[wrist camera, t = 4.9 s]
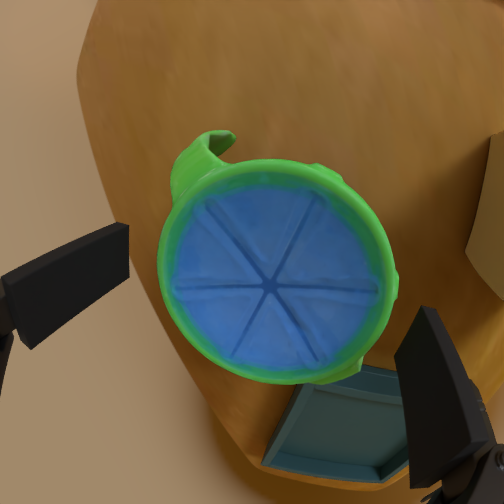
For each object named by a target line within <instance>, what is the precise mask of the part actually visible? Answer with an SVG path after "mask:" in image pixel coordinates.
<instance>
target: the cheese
mask: <svg viewBox="0 0 504 504" xmlns="http://www.w3.org/2000/svg"><path fill="white" fill-rule="evenodd" d="M465 254H466V255H467V257H468V259H469V260H470V262H471V264H472V265H473V267H474V269H475V270H476V271H477V273H478V274H479V275H480V276H481V278H482V279H483V280H484V281H485V282H486V283H487V284H488V286H489V287H490V288H491V289H492V290H493V291H494V292H495V293H496V294H497V295H498V296H499V297H500V298H501V299H502V300H503V301H504V131H501V132H499V133H497V134H493V135H492V136H491V141H490V149H489V155H488V161H487V167H486V172H485V177H484V182H483V187H482V192H481V196H480V201H479V205H478V209H477V213H476V218H475V221H474V225H473V229H472V232H471V235H470V238H469V241H468V244H467V246H466V249H465Z"/></svg>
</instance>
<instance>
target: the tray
mask: <svg viewBox="0 0 504 504" xmlns="http://www.w3.org/2000/svg"><path fill="white" fill-rule="evenodd" d="M408 464H409V458H408V445H407V435H406V426H405V418H404V411H403V404H402V397H401V391H400V385H399V379H398V374H397V371H392V370H386V369H381V368H376V367H372V366H367V365H361V370H360V371H359V372H357V373H355V374H354V375H351V376H349V377H347V378H345V379H342V380H339V381H336V382H333V383H328V384H324V385H319V384H312V383H309V382H308V383H302V384H297V386H296V388H295V390H294V392H293V395H292V397H291V399H290V401H289V403H288V405H287V407H286V409H285V411H284V413H283V415H282V417H281V419H280V421H279V423H278V425H277V427H276V429H275V431H274V433H273V435H272V437H271V439H270V441H269V443H268V445H267V447H266V450H265V453H264V456H263V459H262V462H261V465H263V466H267V467H271V468H275V469H279V470H283V471H288V472H292V473H297V474H302V475H308V476H314V477H320V478H327V479H334V480H342V481H352V482H365V483H384V482H386V481H387V480H388V479H390V478H391V477H393V476H394V475H395V474H397V473H398V472H399V471H401V470H402V469H403V468H405V467H406V466H407V465H408Z"/></svg>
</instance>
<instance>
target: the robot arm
mask: <svg viewBox="0 0 504 504" xmlns="http://www.w3.org/2000/svg"><path fill="white" fill-rule="evenodd" d="M129 277H130V276H129V225H126V224H123V223H119V222H116V223H113V224H111V225H108V226H106V227H104V228H101V229H99V230H96V231H94V232H92V233H89V234H87V235H85V236H83V237H80V238H78V239H76V240H74V241H72V242H69V243H67V244H65V245H63V246H61V247H58V248H56V249H54V250H52V251H50V252H48V253H46V254H44V255H42V256H40V257H38V258H36V259H34V260H32V261H30V262H28V263H26V264H24V265H22V266H20V267H18V268H16V269H14V270H12V271H10V272H8V273H7V274H5V275H3V276H1V279H0V395H1V389H2V384H3V379H4V375H5V370H6V366H7V362H8V358H9V354H10V351H11V346H12V344H13V340H14V335H13V333H12V331H13V330H14V329H17V332H18V335H19V337H20V340H21V341H22V342H23V343H24V344H25V345H26V346H27V347H28V348H29V349H30V350H32V349H33V348H34V347H36V346H37V345H38V344H39V343H41V342H42V341H43V340H45V339H46V338H47V337H48V336H49V335H51V334H52V333H54V332H55V331H56V330H57V329H59V328H60V327H61V326H63V325H64V324H65V323H67V322H68V321H69V320H70V319H72V318H73V317H75V316H76V315H77V314H79V313H80V312H82V311H83V310H84V309H86V308H87V307H88V306H90V305H91V304H93V303H94V302H95V301H96V300H98V299H99V298H101V297H102V296H103V295H105V294H106V293H108V292H109V291H110V290H112V289H114V288H115V287H116V286H118V285H119V284H121V283H122V282H124V281H125V280H126V279H128V278H129ZM394 359H395V364H396V369H397V374H398V379H399V385H400V391H401V397H402V404H403V411H404V418H405V426H406V435H407V445H408V458H409V475H410V489H414V488H428V487H430V486H431V485H433V484H435V483H436V482H438V481H439V480H442V486H441V487H440V488H438V489H437V490H435V491H434V492H432V493H431V494H429V495H427V496H425V497H424V498H423V499H422V500H421V502H424V501H426V500H428V499H429V498H431V499H430V500H429V502H428V503H427V504H504V444H497V442H496V439H495V436H494V432H493V429H492V426H491V423H490V420H489V417H488V414H487V412H485V410H486V408H485V405H484V403H482V401H483V400H482V397H481V395H480V392H479V390H478V388H477V387H476V386H475V384H474V383H473V382H472V380H471V379H469V378H468V376H467V373H466V371H465V369H464V366H463V364H462V362H461V359H460V357H459V355H458V353H457V351H456V349H455V346H454V344H453V342H452V340H451V338H450V336H449V334H448V332H447V330H446V328H445V326H444V324H443V322H442V320H441V318H440V316H439V315H438V313H437V311H436V309H433V308H430V307H426V306H422V305H421V307H420V309H419V311H418V313H417V315H416V317H415V319H414V321H413V323H412V325H411V326H410V328H409V330H408V332H407V334H406V336H405V338H404V339H403V341H402V343H401V345H400V347H399V348H398V350H397V352H396V353H395V355H394Z"/></svg>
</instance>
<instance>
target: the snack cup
mask: <svg viewBox="0 0 504 504" xmlns="http://www.w3.org/2000/svg"><path fill="white" fill-rule="evenodd" d="M235 140H236V136H235V135H234V134H232V133H231V131H225V130H216V131H209V132H206V133H203V134H201V135H200V136H199V137H198V138H197V139H195V140H194V142H193V143H192V144H191V145H190V146H189V147H188V148H186V149H185V150H183V151H182V152H181V154H180V155H179V156H178V158H177V159H176V160H175V162H174V164H173V167H172V172H171V174H170V176H171V179H170V181H171V182H170V188H171V195H172V204H173V205H172V210H171V212H170V214H169V216H168V218H167V219H166V222H165V224H164V226H163V229H162V232H161V235H160V239H159V244H158V251H157V274H158V280H159V286H160V290H161V293H162V297H163V300H164V303H165V305H166V307H167V310H168V312H169V314H170V316H171V317H172V319H173V321H174V322H175V324H176V325H177V327H178V329H179V330H180V331H181V333H182V334H183V335H184V337H185V338H186V339H187V340H188V341H189V342H190V343H191V344H192V345H193V346H194V347H195V348H196V349H197V350H198V351H199V352H200V353H201V354H203V355H204V356H205V357H207V358H208V359H209V360H211V361H212V362H213V363H215V364H217V365H218V366H220V367H222V368H224V369H226V370H228V371H230V372H232V373H234V374H237V375H239V376H242V377H244V378H247V379H251V380H255V381H258V382H262V383H269V384H280V385H293V384H302V383H308V382H309V383H312V384H319V385H324V384H328V383H333V382H336V381H339V380H342V379H345V378H347V377H349V376H351V375H354V374H355V373H357V372H359V371H360V370H361V365H362V362H363V357H364V355H365V354H366V353H367V352H368V351H369V349H370V348H371V347H372V346H373V345H374V344H375V342H376V341H377V340H378V339H379V337H380V336H381V334H382V332H383V330H384V329H385V326H386V324H387V322H388V320H389V317H390V314H391V311H392V308H393V303H394V300H395V299H396V298H397V295H398V285H399V275H398V273H397V271H396V270H395V263H394V259H393V254H392V251H391V247H390V244H389V241H388V238H387V235H386V233H385V231H384V229H383V227H382V225H381V223H380V222H379V220H378V218H377V216H376V214H375V213H374V212H373V210H372V209H371V208H370V207H369V205H368V204H367V203H366V202H365V201H364V200H363V199H362V198H361V197H360V196H359V195H358V194H357V193H356V192H355V191H354V190H353V189H352V188H350V187H349V186H348V185H347V184H346V183H344V181H343V179H342V176H341V175H339V174H338V173H336V172H334V171H332V170H331V169H329V168H327V167H325V166H323V165H321V164H319V163H313V164H308V165H307V164H304V163H301V162H295V161H291V160H283V159H257V160H249V161H244V162H239V163H235V164H229V163H225V162H223V161H221V160H220V159H219V158H217V157H218V156H219V155H221V154H222V153H223V152H225V151H226V150H227V149H228V148H229V147H231V146H232V145H233V143H234V142H235Z"/></svg>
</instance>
